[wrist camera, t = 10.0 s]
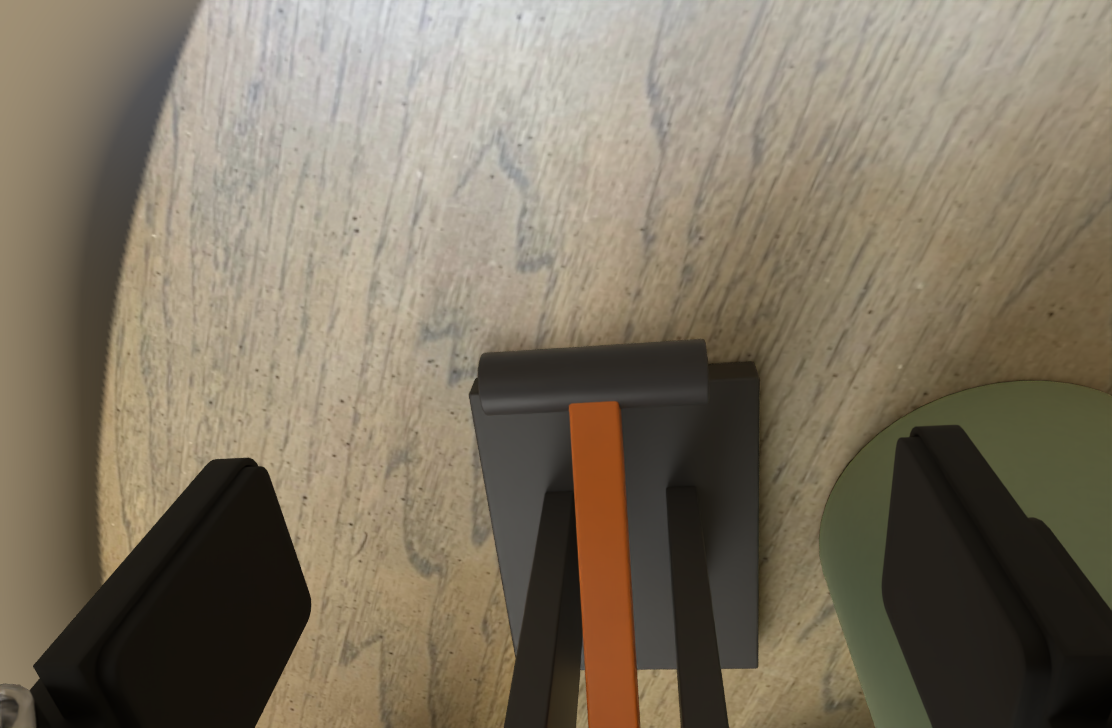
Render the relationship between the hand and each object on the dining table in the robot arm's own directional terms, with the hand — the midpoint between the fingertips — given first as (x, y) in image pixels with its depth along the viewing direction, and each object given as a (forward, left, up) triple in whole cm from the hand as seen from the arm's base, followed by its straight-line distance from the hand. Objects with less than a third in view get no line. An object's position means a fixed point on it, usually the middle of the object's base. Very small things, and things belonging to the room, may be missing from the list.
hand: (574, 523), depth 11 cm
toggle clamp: (+10, 0, -13) cm, 16 cm away
